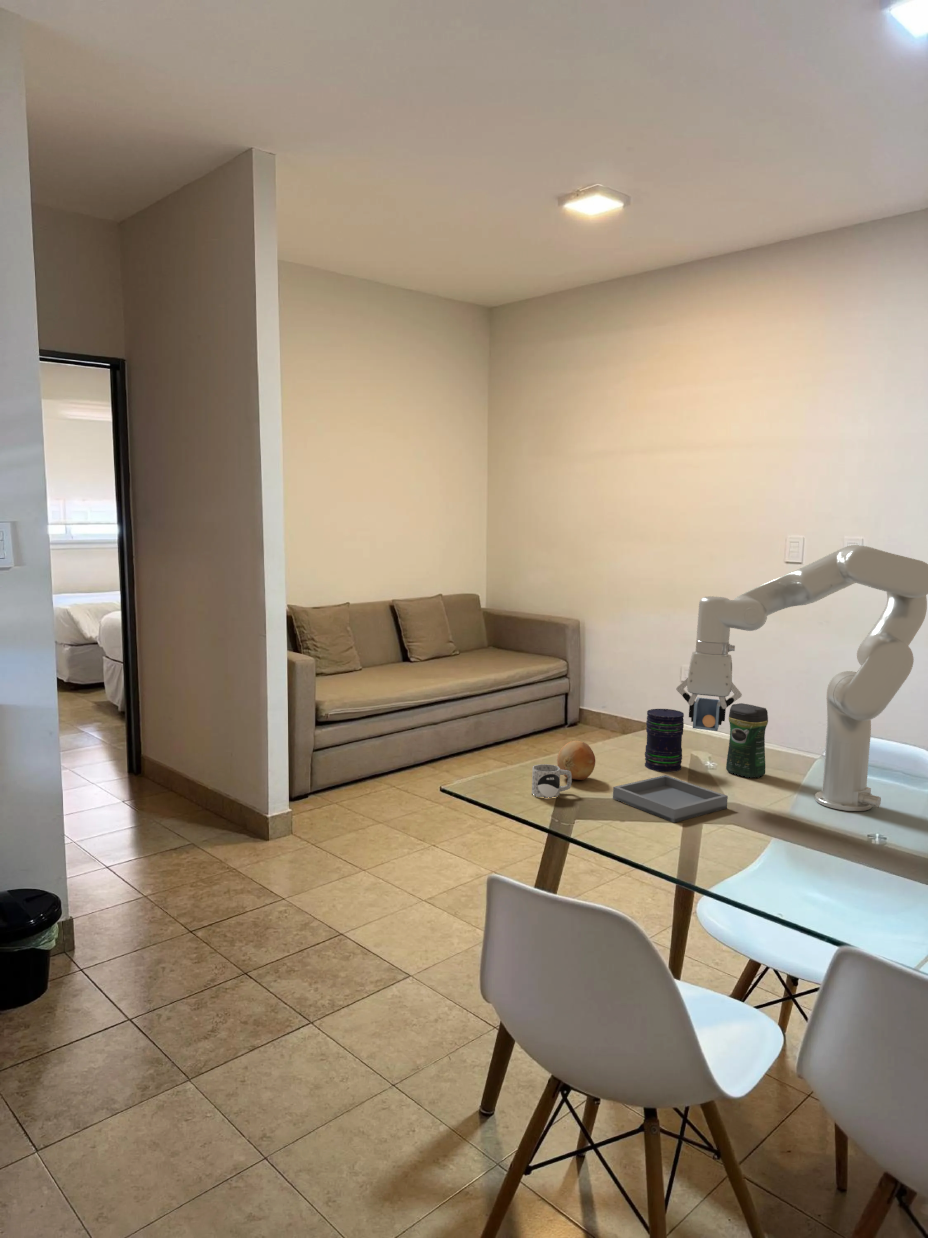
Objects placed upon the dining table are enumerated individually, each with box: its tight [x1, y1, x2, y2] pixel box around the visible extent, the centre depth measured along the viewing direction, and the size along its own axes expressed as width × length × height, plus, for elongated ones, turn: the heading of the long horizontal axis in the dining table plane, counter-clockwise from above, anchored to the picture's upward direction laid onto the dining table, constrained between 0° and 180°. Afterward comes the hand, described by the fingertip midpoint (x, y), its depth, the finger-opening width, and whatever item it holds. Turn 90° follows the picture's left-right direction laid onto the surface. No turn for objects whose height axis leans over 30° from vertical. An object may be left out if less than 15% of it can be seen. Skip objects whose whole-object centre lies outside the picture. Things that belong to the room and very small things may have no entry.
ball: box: [702, 715, 716, 727], centre depth 206 cm, size 3×3×3 cm
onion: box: [556, 739, 596, 781], centre depth 222 cm, size 10×10×10 cm
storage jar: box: [644, 708, 685, 773], centre depth 234 cm, size 10×10×15 cm
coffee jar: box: [725, 702, 769, 778], centre depth 229 cm, size 10×8×19 cm
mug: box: [531, 763, 573, 798], centre depth 210 cm, size 10×7×7 cm, turn 106°
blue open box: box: [692, 696, 721, 732], centre depth 210 cm, size 8×6×6 cm
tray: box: [612, 774, 729, 824], centre depth 205 cm, size 19×18×3 cm
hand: (706, 721), depth 210 cm, fingers closed on blue open box, 5 cm apart
